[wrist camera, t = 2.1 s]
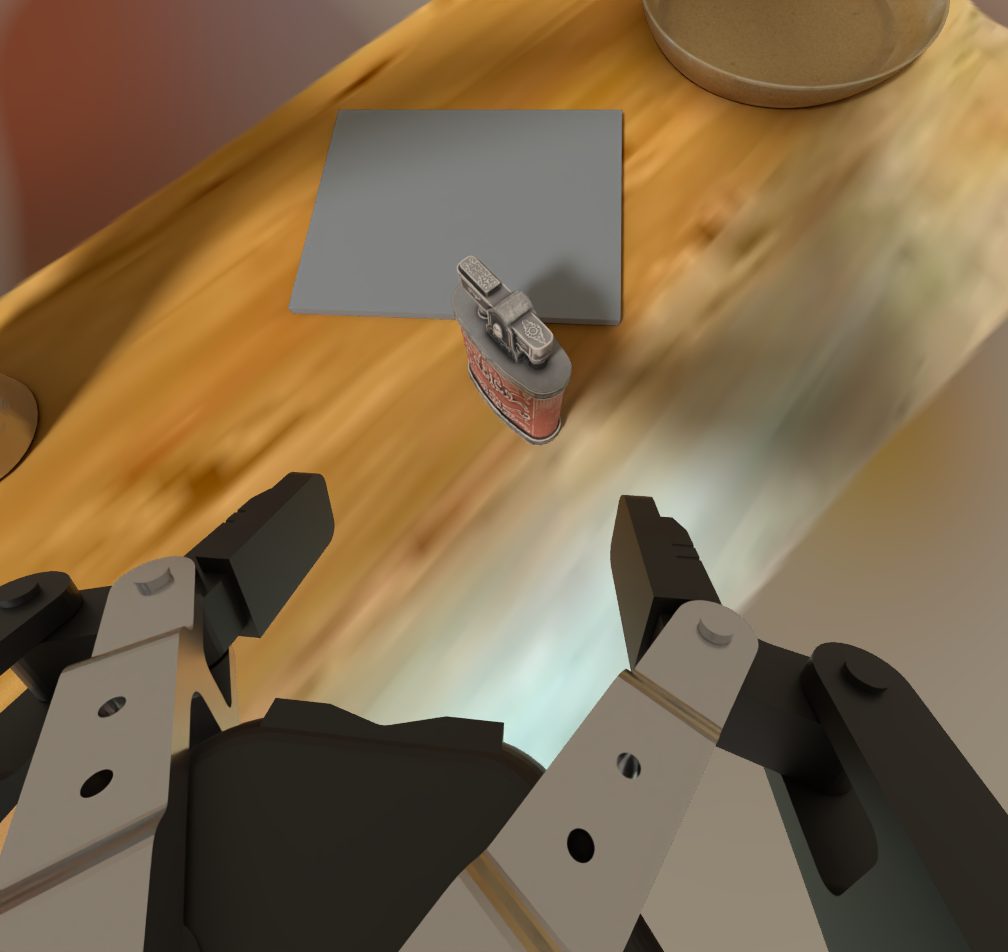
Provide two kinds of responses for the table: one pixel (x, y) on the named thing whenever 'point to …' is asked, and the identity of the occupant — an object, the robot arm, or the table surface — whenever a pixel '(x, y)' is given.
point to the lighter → (510, 353)
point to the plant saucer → (792, 45)
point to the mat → (466, 212)
